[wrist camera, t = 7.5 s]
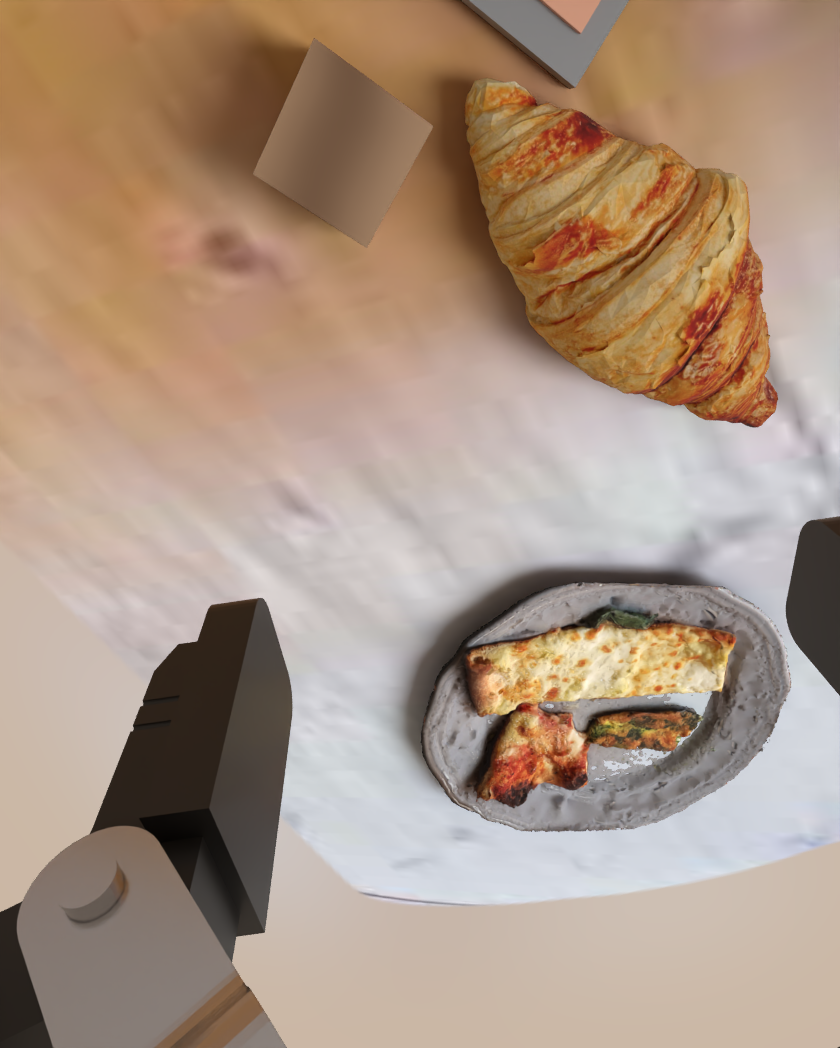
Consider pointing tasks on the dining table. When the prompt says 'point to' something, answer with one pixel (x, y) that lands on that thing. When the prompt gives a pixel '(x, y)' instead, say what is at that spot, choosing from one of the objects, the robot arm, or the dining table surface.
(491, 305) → the dining table surface
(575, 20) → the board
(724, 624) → the food plate
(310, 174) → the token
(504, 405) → the dining table surface
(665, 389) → the croissant
